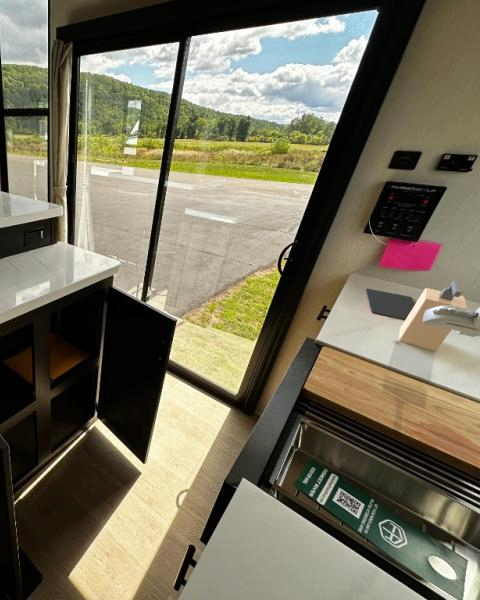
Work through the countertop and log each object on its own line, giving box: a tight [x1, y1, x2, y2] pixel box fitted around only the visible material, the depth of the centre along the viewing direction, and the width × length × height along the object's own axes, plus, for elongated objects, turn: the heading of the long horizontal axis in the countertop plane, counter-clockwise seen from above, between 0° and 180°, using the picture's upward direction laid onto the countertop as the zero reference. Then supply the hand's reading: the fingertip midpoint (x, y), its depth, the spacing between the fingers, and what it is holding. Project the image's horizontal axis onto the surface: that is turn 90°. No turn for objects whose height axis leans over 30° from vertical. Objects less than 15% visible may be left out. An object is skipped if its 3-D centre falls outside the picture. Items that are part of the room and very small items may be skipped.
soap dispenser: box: [398, 279, 468, 352], centre depth 96 cm, size 13×9×22 cm
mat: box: [365, 288, 416, 321], centre depth 120 cm, size 14×20×1 cm
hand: (464, 332), depth 81 cm, fingers closed
